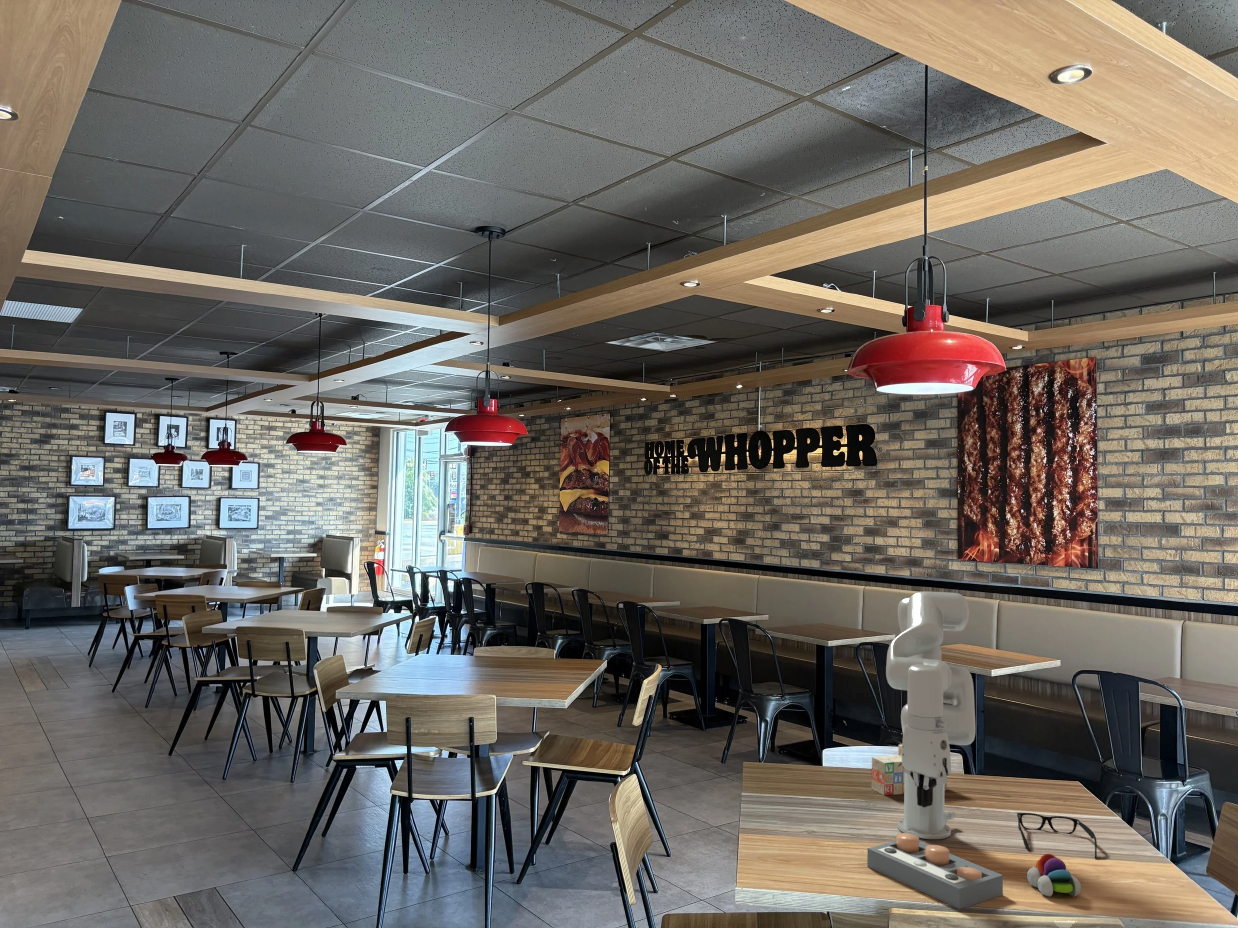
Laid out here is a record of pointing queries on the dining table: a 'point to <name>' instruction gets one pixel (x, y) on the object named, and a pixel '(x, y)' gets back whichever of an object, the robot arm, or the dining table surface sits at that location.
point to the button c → (969, 873)
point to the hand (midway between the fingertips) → (924, 804)
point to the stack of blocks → (889, 774)
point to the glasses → (1053, 828)
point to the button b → (937, 855)
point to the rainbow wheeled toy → (1053, 877)
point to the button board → (935, 875)
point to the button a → (908, 843)
